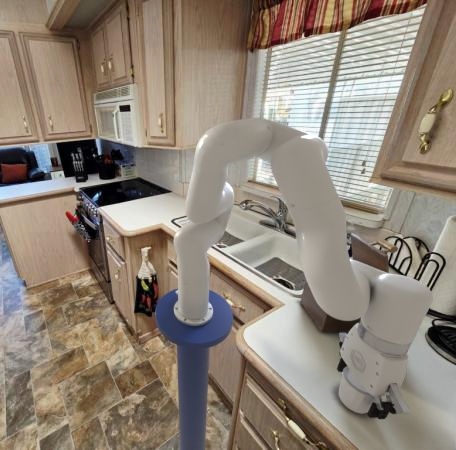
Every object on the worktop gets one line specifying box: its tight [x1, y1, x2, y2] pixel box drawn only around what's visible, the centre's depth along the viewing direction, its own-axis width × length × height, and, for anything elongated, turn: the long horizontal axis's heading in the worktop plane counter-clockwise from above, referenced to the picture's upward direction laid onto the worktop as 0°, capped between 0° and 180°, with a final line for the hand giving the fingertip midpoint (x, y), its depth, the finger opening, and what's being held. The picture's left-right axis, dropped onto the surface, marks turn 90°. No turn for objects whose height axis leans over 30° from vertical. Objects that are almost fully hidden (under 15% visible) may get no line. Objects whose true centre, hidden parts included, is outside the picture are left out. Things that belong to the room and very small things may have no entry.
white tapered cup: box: [338, 366, 375, 415], centre depth 54 cm, size 7×7×7 cm
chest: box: [299, 279, 361, 333], centre depth 76 cm, size 16×13×10 cm
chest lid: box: [350, 232, 399, 274], centre depth 70 cm, size 16×13×6 cm
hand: (358, 391), depth 54 cm, fingers open, 9 cm apart
